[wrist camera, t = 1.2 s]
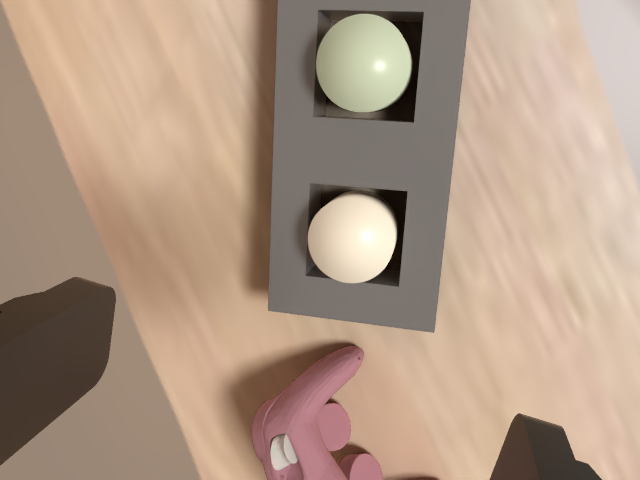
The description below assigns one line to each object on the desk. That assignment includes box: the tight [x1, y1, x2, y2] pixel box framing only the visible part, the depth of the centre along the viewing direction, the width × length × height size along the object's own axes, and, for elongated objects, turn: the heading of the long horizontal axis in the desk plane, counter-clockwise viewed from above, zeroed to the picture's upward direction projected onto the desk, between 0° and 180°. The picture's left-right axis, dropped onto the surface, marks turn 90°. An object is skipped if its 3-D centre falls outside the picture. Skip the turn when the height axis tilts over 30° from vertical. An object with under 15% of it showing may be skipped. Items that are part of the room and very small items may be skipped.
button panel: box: [268, 0, 471, 333], centre depth 23 cm, size 22×8×2 cm, turn 177°
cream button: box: [308, 190, 399, 283], centre depth 24 cm, size 4×4×2 cm
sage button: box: [316, 14, 413, 112], centre depth 22 cm, size 4×4×2 cm
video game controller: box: [252, 346, 383, 480], centre depth 26 cm, size 10×5×7 cm
